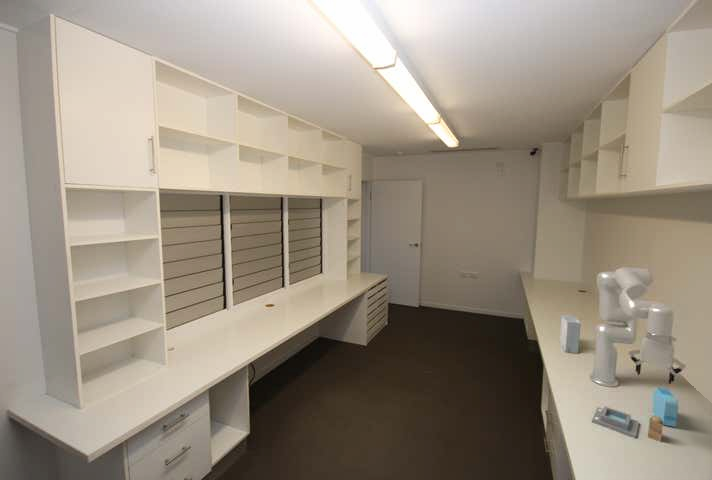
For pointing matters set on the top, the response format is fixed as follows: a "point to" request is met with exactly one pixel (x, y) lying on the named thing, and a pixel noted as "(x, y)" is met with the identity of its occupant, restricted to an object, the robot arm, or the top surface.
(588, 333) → the top surface
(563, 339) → the hard drive box
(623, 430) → the frame
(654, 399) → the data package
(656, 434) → the wooden block with knob
